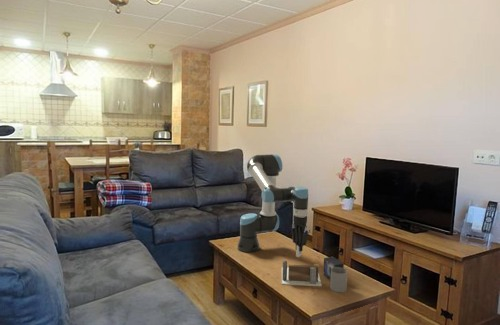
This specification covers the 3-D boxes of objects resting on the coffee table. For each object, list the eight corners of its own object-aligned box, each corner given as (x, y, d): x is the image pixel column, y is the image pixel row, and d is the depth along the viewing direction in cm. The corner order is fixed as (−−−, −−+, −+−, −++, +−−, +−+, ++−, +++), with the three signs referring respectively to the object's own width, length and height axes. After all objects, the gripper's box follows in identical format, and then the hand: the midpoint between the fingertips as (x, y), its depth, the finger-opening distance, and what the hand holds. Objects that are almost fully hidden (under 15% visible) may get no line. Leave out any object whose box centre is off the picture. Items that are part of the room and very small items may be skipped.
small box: (322, 275, 201) (323, 257, 199) (332, 273, 203) (332, 256, 202) (333, 283, 191) (334, 264, 190) (343, 281, 194) (344, 262, 192)
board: (281, 268, 210) (281, 267, 210) (317, 269, 208) (317, 268, 208) (281, 284, 189) (281, 283, 189) (321, 286, 187) (321, 285, 187)
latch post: (309, 283, 191) (310, 267, 190) (315, 283, 191) (315, 267, 190) (310, 285, 189) (310, 269, 187) (315, 285, 188) (316, 269, 187)
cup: (336, 293, 180) (337, 274, 179) (326, 286, 187) (327, 268, 186) (349, 290, 183) (350, 272, 182) (339, 283, 191) (340, 266, 189)
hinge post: (282, 279, 195) (282, 260, 193) (286, 279, 194) (287, 260, 193) (282, 281, 192) (282, 262, 191) (286, 281, 192) (287, 262, 191)
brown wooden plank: (288, 278, 194) (288, 263, 193) (318, 279, 193) (318, 264, 192) (288, 280, 192) (288, 264, 191) (318, 281, 190) (319, 266, 189)
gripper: (287, 213, 197) (285, 254, 200) (304, 219, 187) (303, 261, 190) (296, 211, 202) (294, 250, 205) (314, 217, 192) (312, 258, 195)
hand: (298, 256), depth 198 cm, fingers closed
